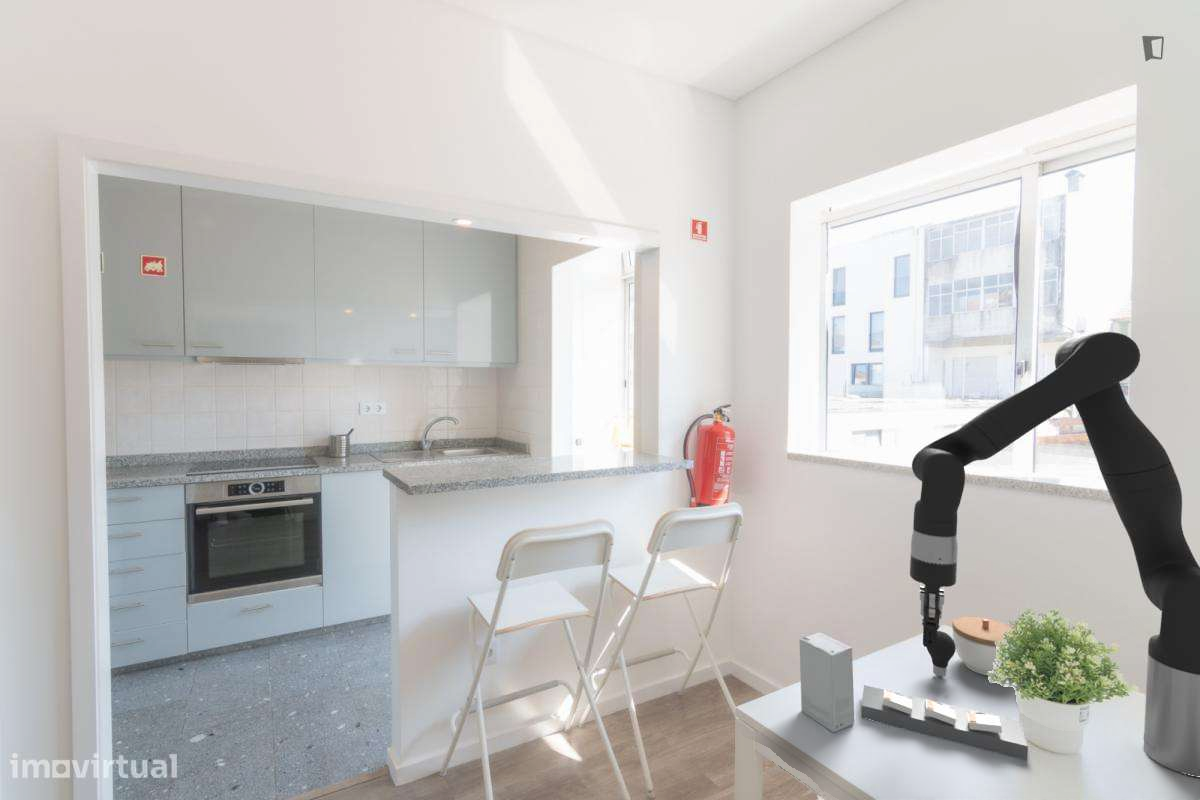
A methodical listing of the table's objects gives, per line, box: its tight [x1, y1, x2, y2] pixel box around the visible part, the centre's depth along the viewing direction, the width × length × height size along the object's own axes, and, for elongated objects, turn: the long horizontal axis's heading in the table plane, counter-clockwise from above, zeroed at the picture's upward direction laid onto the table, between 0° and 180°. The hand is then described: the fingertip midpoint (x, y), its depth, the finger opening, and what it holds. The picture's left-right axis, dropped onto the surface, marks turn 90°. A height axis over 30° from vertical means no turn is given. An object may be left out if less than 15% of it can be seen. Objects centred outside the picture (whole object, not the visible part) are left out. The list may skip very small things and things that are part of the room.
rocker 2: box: [967, 713, 1002, 733], centre depth 103 cm, size 5×3×1 cm
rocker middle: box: [924, 699, 956, 725], centre depth 107 cm, size 5×3×1 cm
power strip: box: [860, 684, 1029, 761], centre depth 108 cm, size 26×8×3 cm, turn 62°
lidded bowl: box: [951, 616, 1011, 677], centre depth 129 cm, size 13×13×11 cm
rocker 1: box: [883, 689, 912, 714], centre depth 110 cm, size 5×3×1 cm
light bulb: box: [926, 630, 956, 679], centre depth 125 cm, size 6×6×10 cm
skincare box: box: [799, 632, 855, 733], centre depth 111 cm, size 8×6×15 cm
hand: (929, 645), depth 109 cm, fingers closed
